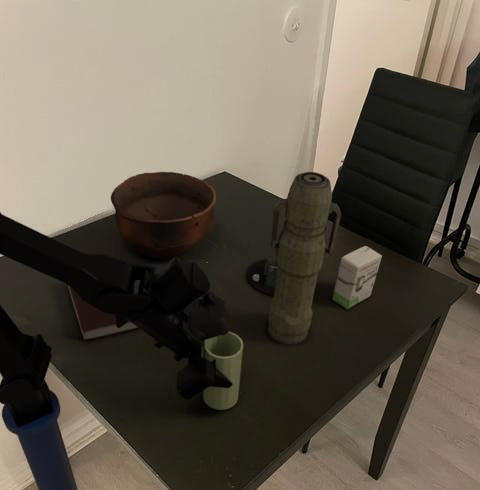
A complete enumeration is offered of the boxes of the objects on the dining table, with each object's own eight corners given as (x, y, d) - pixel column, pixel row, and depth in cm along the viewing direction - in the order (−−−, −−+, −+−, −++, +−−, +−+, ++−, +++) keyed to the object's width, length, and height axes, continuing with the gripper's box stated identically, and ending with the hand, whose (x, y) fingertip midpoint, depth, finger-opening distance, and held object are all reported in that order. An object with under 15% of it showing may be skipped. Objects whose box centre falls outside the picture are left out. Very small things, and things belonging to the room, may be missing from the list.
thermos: (258, 316, 111) (275, 165, 88) (311, 317, 112) (341, 167, 89) (261, 344, 104) (280, 189, 81) (318, 345, 105) (352, 191, 82)
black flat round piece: (249, 257, 128) (251, 238, 125) (308, 262, 128) (311, 244, 124) (245, 293, 117) (246, 274, 113) (309, 299, 116) (313, 280, 113)
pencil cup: (215, 415, 88) (217, 363, 79) (196, 391, 91) (196, 339, 83) (245, 400, 91) (250, 348, 82) (225, 377, 94) (229, 326, 86)
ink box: (347, 310, 114) (358, 267, 107) (331, 299, 117) (340, 256, 109) (371, 296, 119) (383, 254, 111) (355, 286, 122) (365, 244, 114)
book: (122, 276, 119) (120, 265, 117) (144, 328, 106) (143, 316, 104) (67, 287, 115) (65, 275, 113) (83, 342, 102) (81, 330, 100)
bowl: (202, 283, 119) (202, 227, 109) (102, 267, 121) (93, 211, 111) (223, 229, 138) (225, 177, 128) (136, 216, 140) (131, 165, 130)
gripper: (199, 337, 68) (271, 391, 76) (200, 258, 82) (261, 311, 90) (144, 376, 73) (217, 423, 81) (154, 295, 87) (216, 342, 95)
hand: (230, 371), depth 87 cm, fingers closed on pencil cup, 6 cm apart
